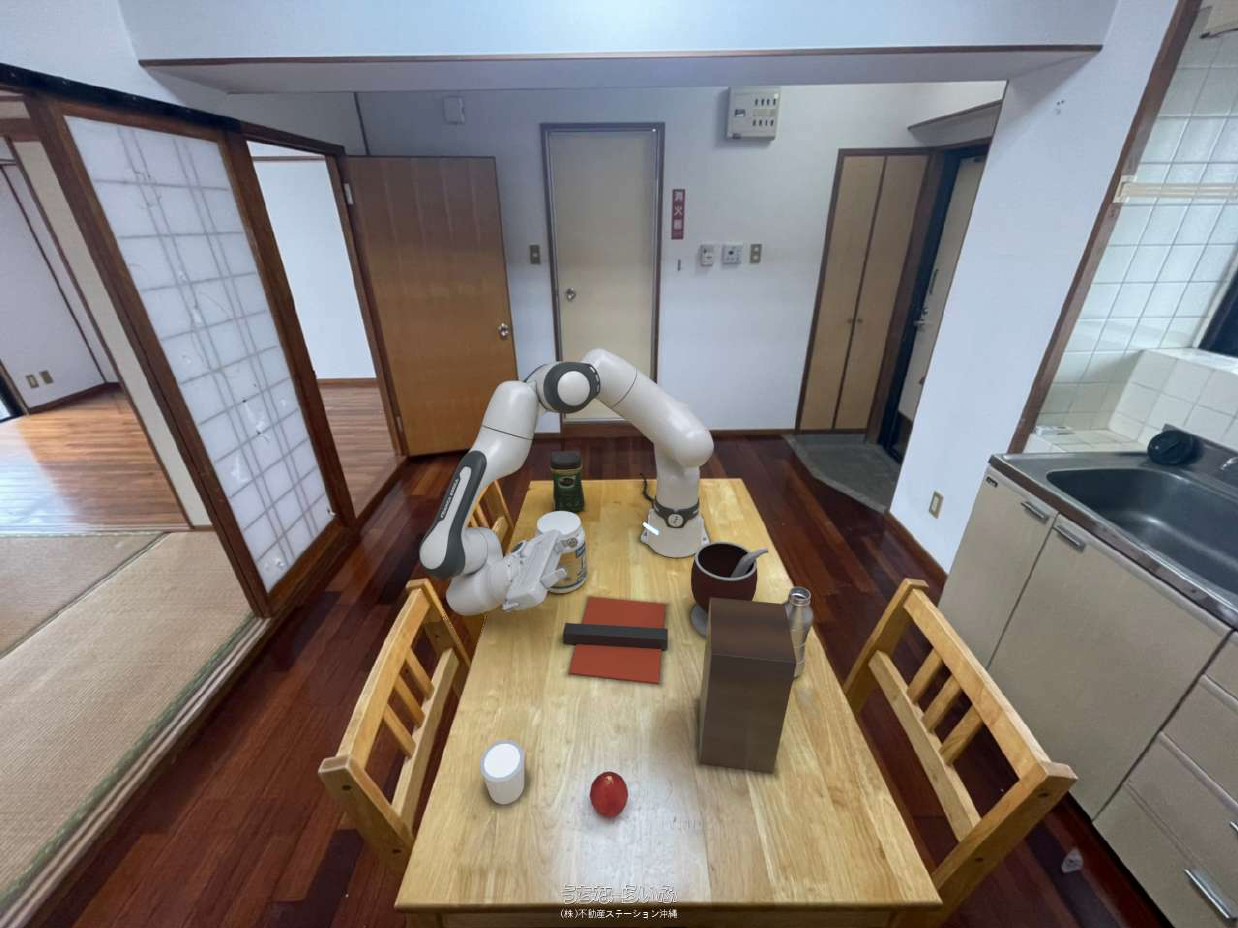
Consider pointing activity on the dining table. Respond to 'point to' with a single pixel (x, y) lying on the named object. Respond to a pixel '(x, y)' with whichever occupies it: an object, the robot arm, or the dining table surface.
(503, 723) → the dining table surface
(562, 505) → the coffee jar
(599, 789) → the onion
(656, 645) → the handle
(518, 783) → the white short cylinder
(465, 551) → the robot arm
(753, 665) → the tall wooden block
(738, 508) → the dining table surface
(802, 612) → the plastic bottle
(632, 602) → the baking mat
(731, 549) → the mate gourd
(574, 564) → the supplement tub
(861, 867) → the dining table surface
